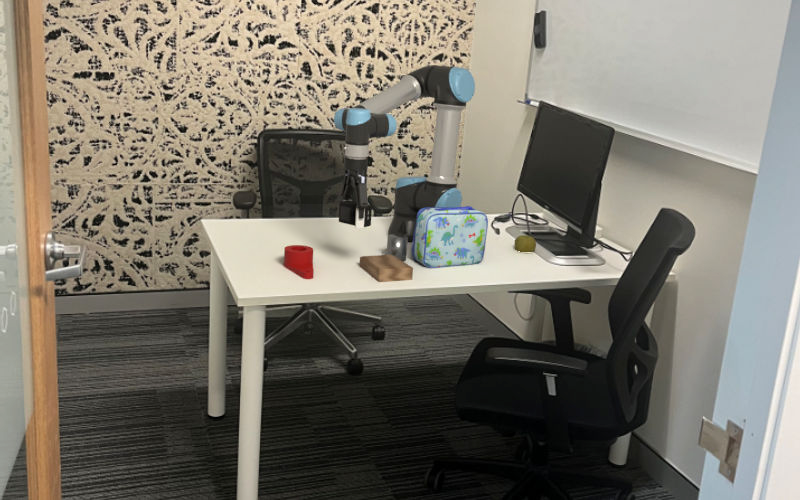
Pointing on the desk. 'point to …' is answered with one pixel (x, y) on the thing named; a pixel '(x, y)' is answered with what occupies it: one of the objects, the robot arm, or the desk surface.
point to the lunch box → (449, 236)
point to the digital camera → (353, 213)
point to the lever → (299, 260)
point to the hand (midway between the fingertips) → (352, 223)
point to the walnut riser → (386, 268)
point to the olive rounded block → (525, 243)
